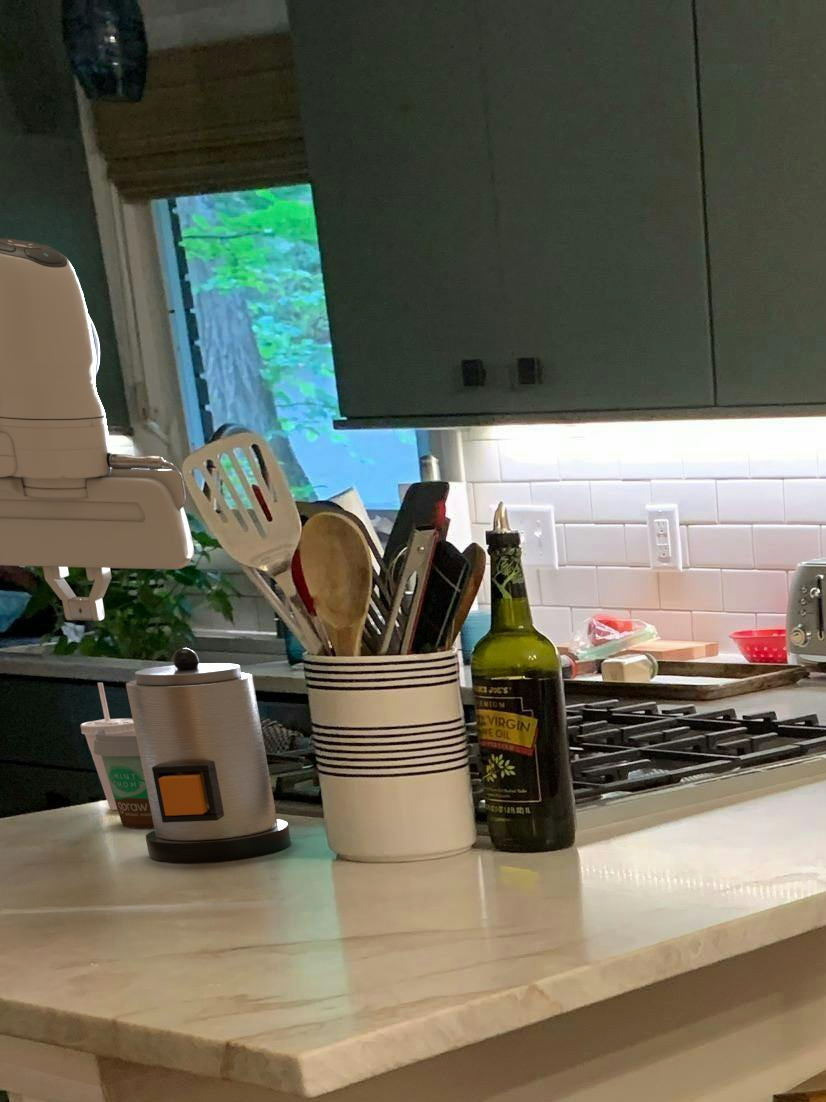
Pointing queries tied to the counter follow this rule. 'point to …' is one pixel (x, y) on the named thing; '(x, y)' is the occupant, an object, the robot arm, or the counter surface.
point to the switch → (183, 794)
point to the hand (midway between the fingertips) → (85, 619)
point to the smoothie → (111, 729)
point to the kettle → (205, 760)
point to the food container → (125, 778)
